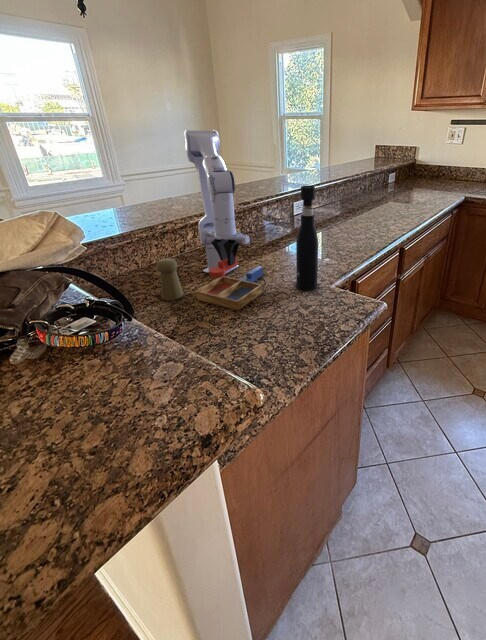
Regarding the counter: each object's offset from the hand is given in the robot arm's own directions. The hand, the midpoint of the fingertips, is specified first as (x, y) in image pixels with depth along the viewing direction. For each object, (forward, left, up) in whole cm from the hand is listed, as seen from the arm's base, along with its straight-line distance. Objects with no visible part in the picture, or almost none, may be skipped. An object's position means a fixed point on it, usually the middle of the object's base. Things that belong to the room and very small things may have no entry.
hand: (228, 263), depth 102 cm
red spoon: (+2, 0, -1) cm, 3 cm away
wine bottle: (-13, +19, -8) cm, 25 cm away
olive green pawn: (+11, -13, -8) cm, 19 cm away
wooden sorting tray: (+3, +2, -8) cm, 9 cm away
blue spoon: (-8, +2, -8) cm, 12 cm away
